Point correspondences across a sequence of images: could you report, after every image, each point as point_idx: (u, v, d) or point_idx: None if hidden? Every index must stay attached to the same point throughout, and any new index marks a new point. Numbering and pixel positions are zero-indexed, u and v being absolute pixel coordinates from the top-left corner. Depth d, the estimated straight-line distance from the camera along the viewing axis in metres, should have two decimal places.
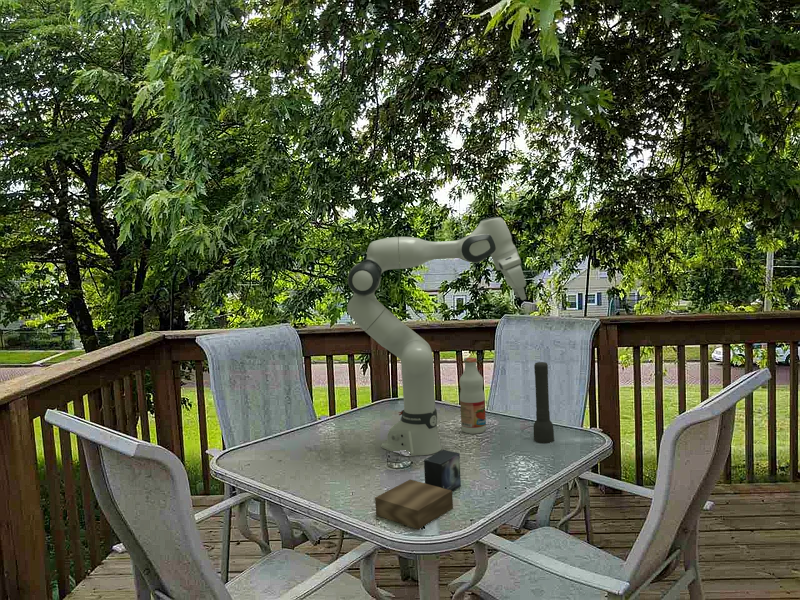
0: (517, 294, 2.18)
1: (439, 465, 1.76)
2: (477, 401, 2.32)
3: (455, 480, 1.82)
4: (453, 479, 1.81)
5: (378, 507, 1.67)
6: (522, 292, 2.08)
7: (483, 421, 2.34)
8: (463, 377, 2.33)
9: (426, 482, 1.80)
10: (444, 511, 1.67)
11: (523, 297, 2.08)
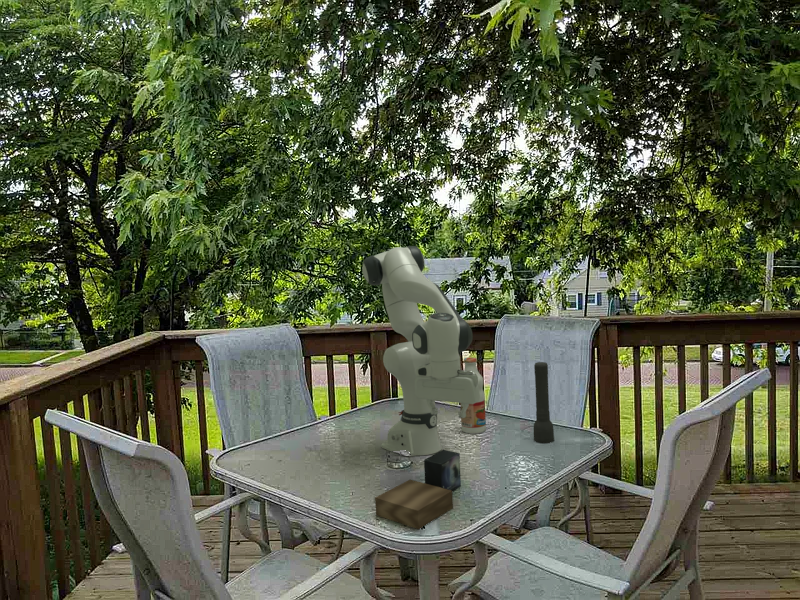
0: None
1: (439, 465, 1.76)
2: None
3: (455, 480, 1.82)
4: (453, 479, 1.81)
5: (378, 507, 1.67)
6: None
7: (483, 421, 2.34)
8: None
9: (426, 482, 1.80)
10: (444, 511, 1.67)
11: None
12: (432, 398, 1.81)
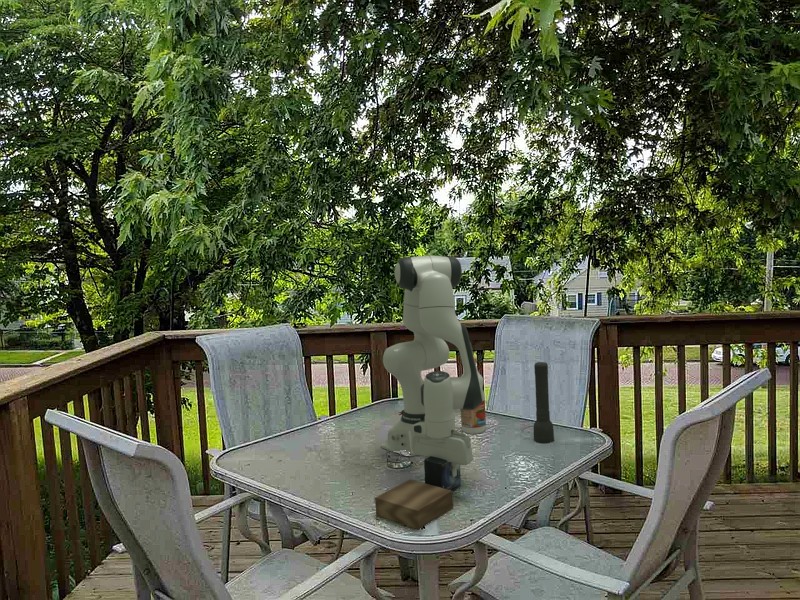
0: None
1: (439, 465, 1.76)
2: None
3: (455, 480, 1.82)
4: (453, 479, 1.81)
5: (378, 507, 1.67)
6: None
7: (483, 421, 2.34)
8: None
9: (426, 482, 1.80)
10: (444, 511, 1.67)
11: None
12: (427, 455, 1.83)
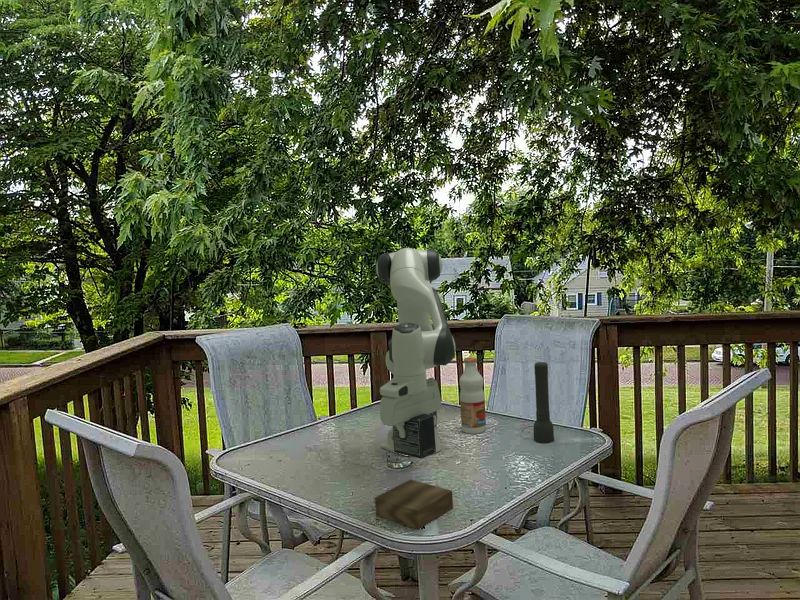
0: None
1: (432, 418, 1.66)
2: (477, 401, 2.32)
3: None
4: None
5: (378, 507, 1.67)
6: (400, 429, 1.65)
7: (483, 421, 2.34)
8: (463, 377, 2.33)
9: (423, 444, 1.64)
10: (444, 511, 1.67)
11: (401, 435, 1.65)
12: (406, 419, 1.64)
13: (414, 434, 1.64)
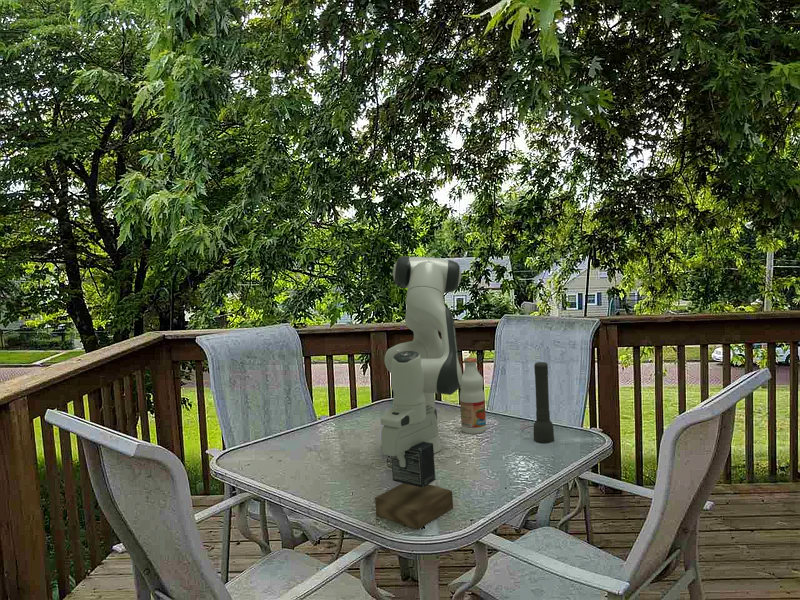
0: None
1: (432, 445, 1.66)
2: (477, 401, 2.32)
3: None
4: None
5: (378, 507, 1.67)
6: (400, 458, 1.64)
7: (483, 421, 2.34)
8: (463, 377, 2.33)
9: (424, 473, 1.63)
10: (444, 511, 1.67)
11: (402, 464, 1.64)
12: (407, 448, 1.63)
13: (415, 463, 1.63)
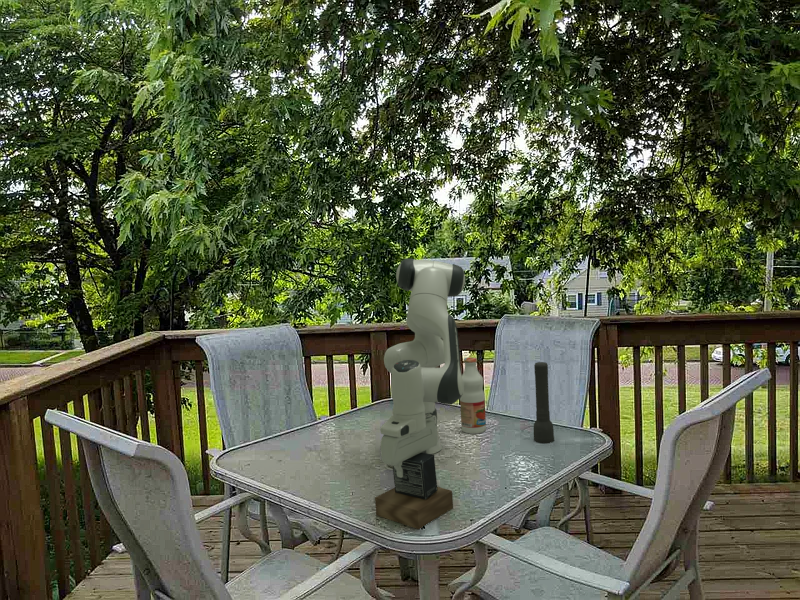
0: None
1: (433, 457, 1.67)
2: (477, 401, 2.32)
3: None
4: None
5: (378, 507, 1.67)
6: (398, 468, 1.63)
7: (483, 421, 2.34)
8: (463, 377, 2.33)
9: (426, 485, 1.64)
10: (444, 511, 1.67)
11: (399, 474, 1.64)
12: (407, 457, 1.64)
13: (417, 475, 1.65)
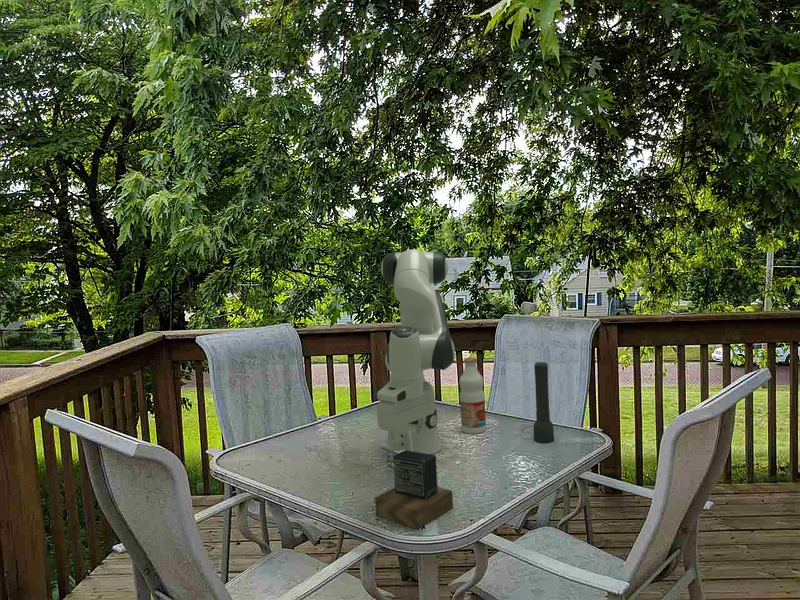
0: (417, 429, 1.71)
1: (435, 458, 1.68)
2: (477, 401, 2.32)
3: None
4: None
5: (378, 507, 1.67)
6: (394, 434, 1.63)
7: (483, 421, 2.34)
8: (463, 377, 2.33)
9: (426, 485, 1.65)
10: (444, 511, 1.67)
11: (395, 440, 1.63)
12: (403, 423, 1.63)
13: (418, 474, 1.65)
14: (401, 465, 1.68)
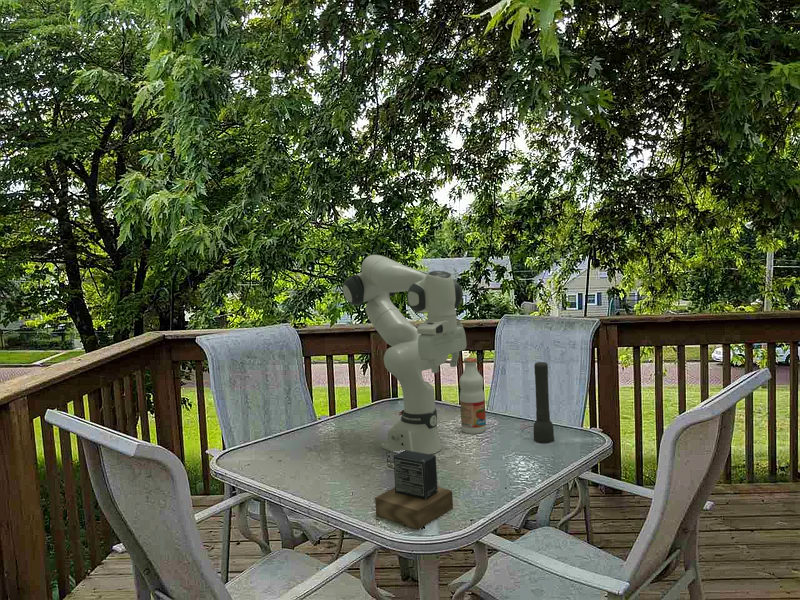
0: (451, 363, 1.92)
1: (435, 458, 1.68)
2: (477, 401, 2.32)
3: None
4: None
5: (378, 507, 1.67)
6: (432, 364, 1.84)
7: (483, 421, 2.34)
8: (463, 377, 2.33)
9: (426, 485, 1.65)
10: (444, 511, 1.67)
11: (433, 370, 1.85)
12: (440, 355, 1.84)
13: (418, 474, 1.65)
14: (401, 465, 1.68)
